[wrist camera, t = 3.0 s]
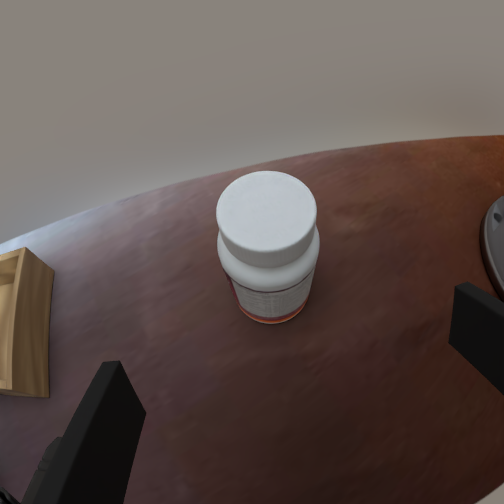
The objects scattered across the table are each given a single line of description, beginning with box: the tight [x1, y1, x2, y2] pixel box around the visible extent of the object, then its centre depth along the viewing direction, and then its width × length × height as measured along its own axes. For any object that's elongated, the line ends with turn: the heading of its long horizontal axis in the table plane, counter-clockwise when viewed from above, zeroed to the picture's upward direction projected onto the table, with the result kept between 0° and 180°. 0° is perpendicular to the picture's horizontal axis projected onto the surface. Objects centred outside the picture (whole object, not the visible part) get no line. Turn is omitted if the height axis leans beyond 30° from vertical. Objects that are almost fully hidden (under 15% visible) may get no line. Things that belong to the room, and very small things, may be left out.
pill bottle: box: [216, 171, 320, 324], centre depth 20 cm, size 6×6×11 cm
